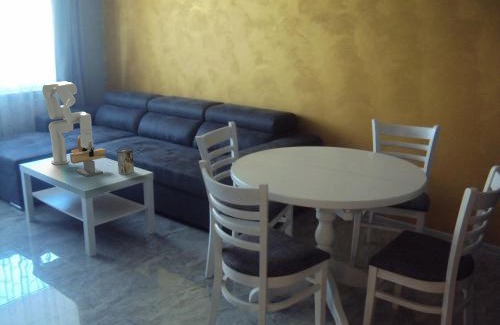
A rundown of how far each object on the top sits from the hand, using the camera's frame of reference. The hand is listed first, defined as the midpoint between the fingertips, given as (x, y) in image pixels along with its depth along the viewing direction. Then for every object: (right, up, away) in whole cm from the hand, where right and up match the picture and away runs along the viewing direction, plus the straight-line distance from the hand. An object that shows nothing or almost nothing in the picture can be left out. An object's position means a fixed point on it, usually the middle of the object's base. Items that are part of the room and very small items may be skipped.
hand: (88, 155), depth 333 cm
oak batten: (0, -3, +1) cm, 3 cm away
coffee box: (+25, -12, +6) cm, 29 cm away
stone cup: (-22, +1, +50) cm, 55 cm away
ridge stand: (0, -12, +4) cm, 13 cm away
